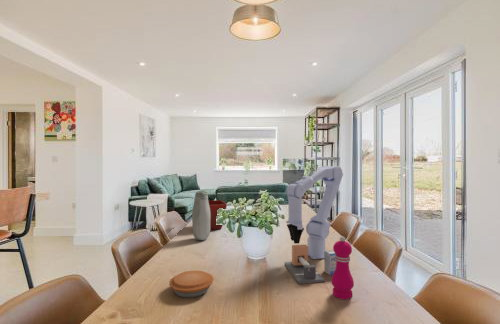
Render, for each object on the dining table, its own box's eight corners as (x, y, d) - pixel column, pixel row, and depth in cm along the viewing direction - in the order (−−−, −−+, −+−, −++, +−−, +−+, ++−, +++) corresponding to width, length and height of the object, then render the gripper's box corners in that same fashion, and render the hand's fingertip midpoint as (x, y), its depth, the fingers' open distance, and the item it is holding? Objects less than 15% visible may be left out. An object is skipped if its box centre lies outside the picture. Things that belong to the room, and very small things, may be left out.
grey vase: (209, 242, 156) (208, 191, 155) (190, 242, 156) (190, 191, 155) (211, 237, 165) (211, 189, 165) (194, 237, 166) (194, 189, 165)
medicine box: (329, 275, 111) (329, 254, 111) (323, 271, 115) (323, 250, 115) (347, 273, 113) (347, 252, 113) (340, 269, 117) (340, 248, 117)
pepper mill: (336, 288, 101) (336, 232, 100) (356, 294, 96) (356, 236, 96) (327, 295, 95) (327, 237, 95) (349, 302, 90) (349, 241, 90)
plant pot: (194, 225, 193) (193, 201, 193) (221, 223, 199) (221, 199, 199) (197, 232, 175) (197, 205, 175) (227, 230, 181) (227, 204, 180)
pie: (169, 304, 90) (169, 289, 90) (169, 283, 105) (169, 270, 105) (217, 297, 95) (217, 282, 95) (210, 278, 110) (210, 265, 109)
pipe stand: (284, 264, 123) (284, 251, 123) (306, 262, 124) (306, 250, 124) (298, 283, 104) (298, 268, 104) (324, 281, 106) (324, 267, 106)
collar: (291, 262, 119) (291, 245, 119) (305, 261, 120) (305, 244, 120) (294, 265, 116) (294, 247, 116) (307, 264, 117) (307, 246, 117)
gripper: (282, 208, 131) (282, 237, 131) (291, 214, 116) (291, 247, 117) (296, 208, 132) (296, 236, 132) (307, 214, 118) (307, 246, 118)
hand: (295, 241), depth 125 cm, fingers open, 4 cm apart
